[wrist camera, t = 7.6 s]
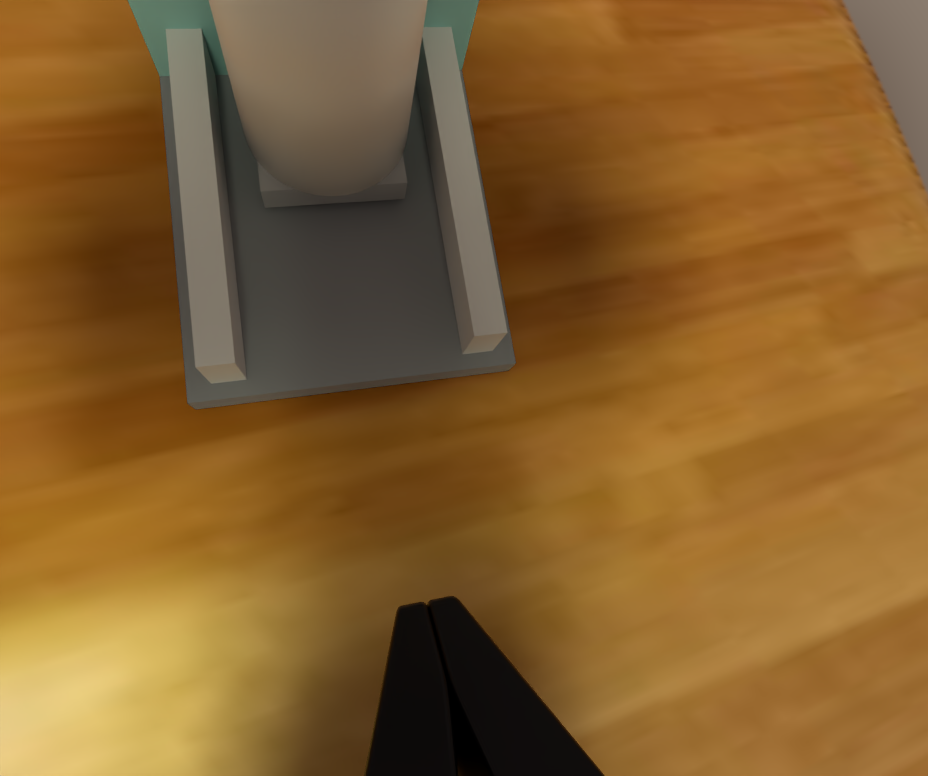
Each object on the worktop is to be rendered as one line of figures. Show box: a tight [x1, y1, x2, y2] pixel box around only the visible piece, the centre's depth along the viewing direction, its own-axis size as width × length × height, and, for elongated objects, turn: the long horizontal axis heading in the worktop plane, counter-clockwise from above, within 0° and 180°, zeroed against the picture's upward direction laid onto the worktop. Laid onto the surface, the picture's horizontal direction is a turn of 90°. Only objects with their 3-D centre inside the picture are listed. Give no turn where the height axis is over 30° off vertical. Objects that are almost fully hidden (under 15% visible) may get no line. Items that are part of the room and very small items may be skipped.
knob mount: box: [128, 0, 516, 409], centre depth 19 cm, size 13×10×6 cm
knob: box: [209, 0, 428, 208], centre depth 15 cm, size 5×5×11 cm
